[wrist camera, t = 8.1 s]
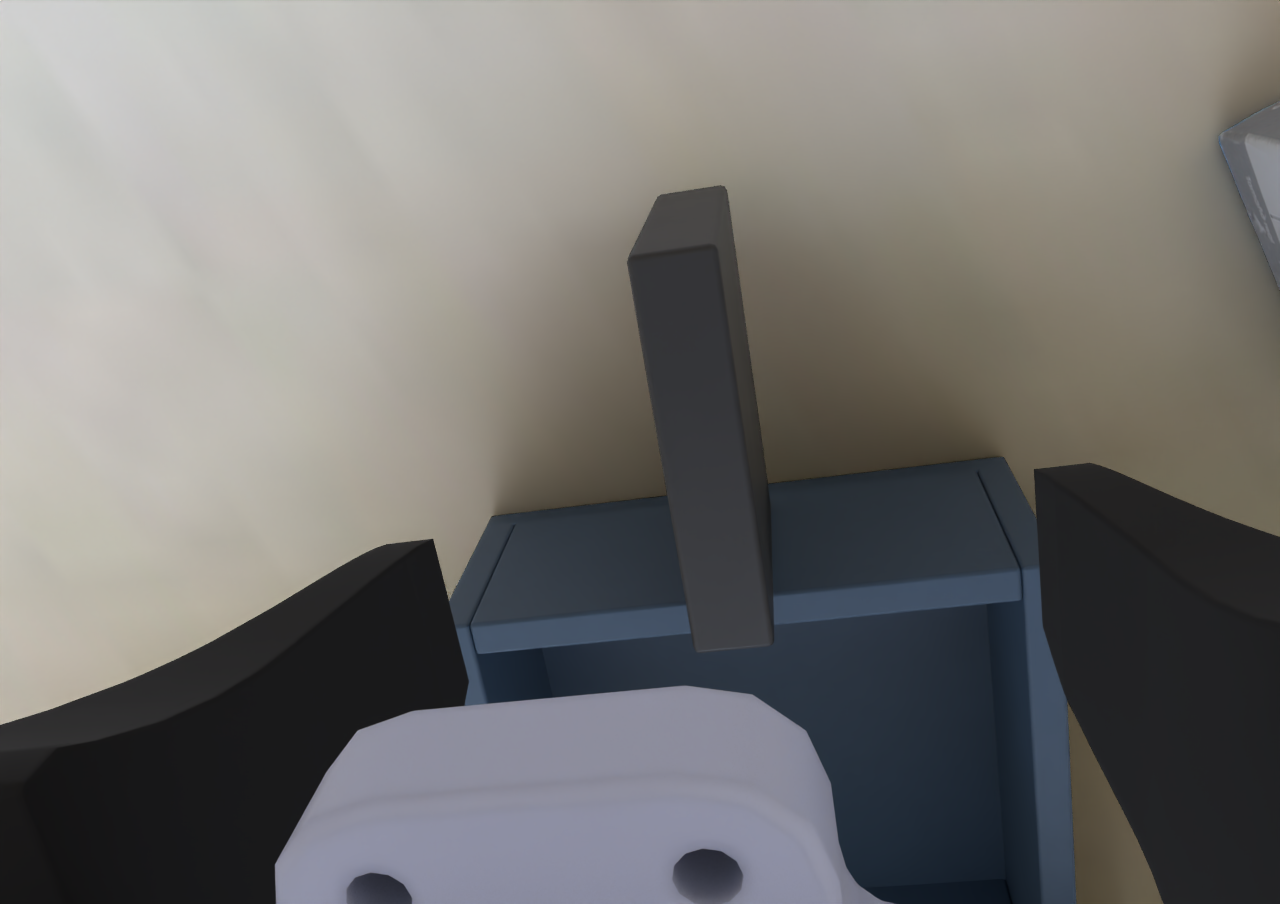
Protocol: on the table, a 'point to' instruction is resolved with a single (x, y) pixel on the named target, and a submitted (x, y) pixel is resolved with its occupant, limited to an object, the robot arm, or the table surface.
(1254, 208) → the label tape box
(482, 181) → the table surface
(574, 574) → the storage box
